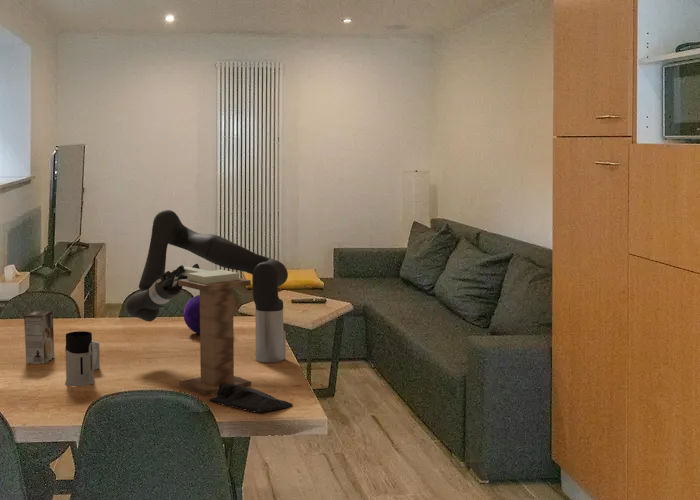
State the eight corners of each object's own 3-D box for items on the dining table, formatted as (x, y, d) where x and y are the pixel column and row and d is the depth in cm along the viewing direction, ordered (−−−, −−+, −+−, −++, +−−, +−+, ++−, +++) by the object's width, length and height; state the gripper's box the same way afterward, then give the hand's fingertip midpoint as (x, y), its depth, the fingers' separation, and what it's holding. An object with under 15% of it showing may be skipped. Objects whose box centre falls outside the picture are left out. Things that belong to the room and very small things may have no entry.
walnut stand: (223, 376, 272) (223, 274, 269) (251, 386, 262) (250, 280, 258) (179, 386, 262) (177, 279, 258) (205, 396, 251) (204, 285, 248)
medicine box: (94, 366, 284) (93, 340, 283) (100, 369, 280) (99, 342, 279) (70, 370, 279) (69, 343, 278) (76, 373, 275) (75, 346, 274)
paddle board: (198, 271, 275) (198, 265, 275) (239, 279, 259) (239, 273, 259) (164, 275, 267) (164, 268, 266) (204, 283, 251) (204, 276, 251)
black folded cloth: (254, 419, 233) (254, 402, 232) (205, 401, 248) (204, 385, 247) (297, 407, 243) (297, 390, 243) (247, 391, 259) (247, 375, 258)
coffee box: (36, 357, 295) (34, 310, 293) (54, 357, 294) (53, 310, 292) (25, 364, 285) (23, 315, 284) (44, 364, 285) (43, 315, 283)
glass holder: (84, 377, 270) (82, 329, 268) (112, 385, 261) (110, 336, 260) (58, 383, 264) (57, 334, 262) (86, 392, 255) (85, 341, 253)
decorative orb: (210, 327, 344) (210, 290, 342) (231, 334, 332) (231, 295, 331) (176, 332, 334) (176, 294, 332) (196, 339, 323) (196, 299, 321)
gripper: (141, 280, 275) (166, 258, 263) (181, 275, 284) (206, 254, 273) (148, 302, 273) (173, 281, 261) (187, 297, 283) (213, 276, 271)
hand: (190, 267), depth 267 cm, fingers open, 4 cm apart
